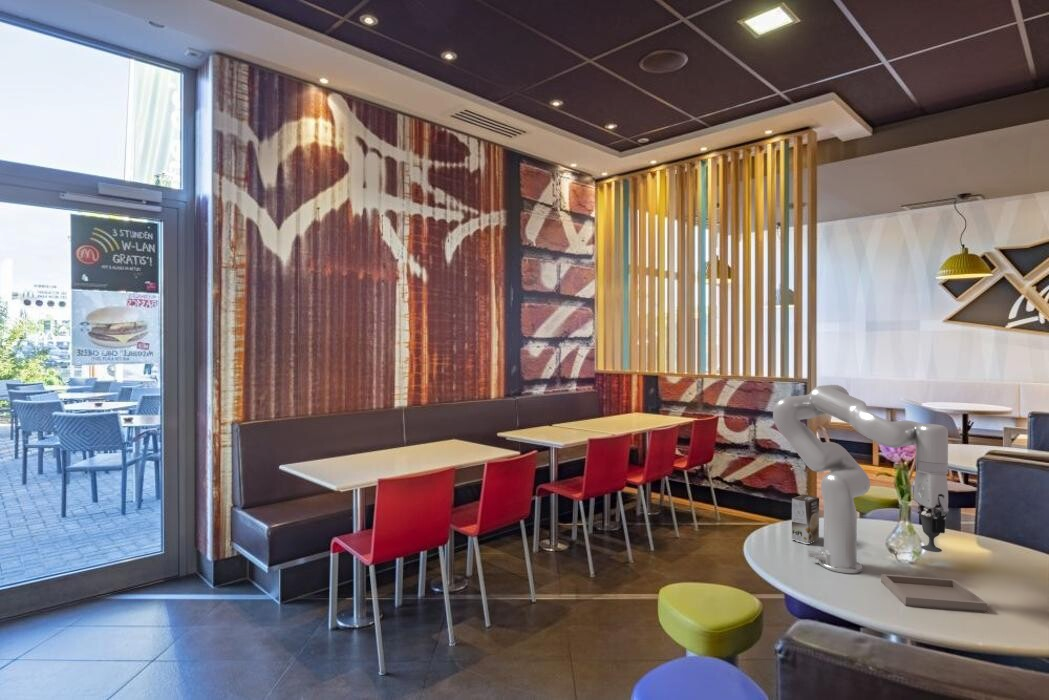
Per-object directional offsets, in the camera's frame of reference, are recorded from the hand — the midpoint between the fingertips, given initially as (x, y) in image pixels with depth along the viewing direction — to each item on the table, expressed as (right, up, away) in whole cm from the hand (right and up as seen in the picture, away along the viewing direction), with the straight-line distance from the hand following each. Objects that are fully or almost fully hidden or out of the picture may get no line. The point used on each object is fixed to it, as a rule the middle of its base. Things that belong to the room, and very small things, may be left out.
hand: (931, 528), depth 162 cm
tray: (0, -20, 0) cm, 20 cm away
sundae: (0, -6, 0) cm, 6 cm away
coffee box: (-13, -20, +47) cm, 52 cm away
